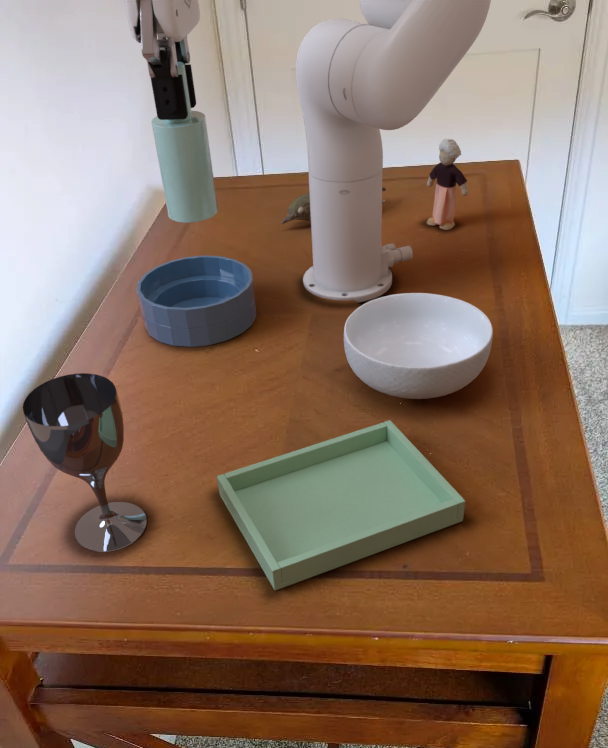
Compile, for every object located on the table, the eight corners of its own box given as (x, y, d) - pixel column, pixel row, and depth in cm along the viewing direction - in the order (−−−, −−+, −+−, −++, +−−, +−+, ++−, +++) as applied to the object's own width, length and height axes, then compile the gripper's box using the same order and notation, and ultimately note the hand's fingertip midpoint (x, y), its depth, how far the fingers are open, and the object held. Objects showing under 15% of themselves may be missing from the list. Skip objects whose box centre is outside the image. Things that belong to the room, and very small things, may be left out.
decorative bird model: (275, 226, 125) (273, 195, 122) (381, 198, 131) (381, 167, 128) (289, 237, 122) (287, 205, 118) (397, 208, 128) (398, 176, 124)
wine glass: (75, 503, 79) (31, 377, 68) (153, 496, 79) (120, 369, 68) (65, 559, 73) (14, 431, 62) (148, 550, 73) (112, 421, 63)
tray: (389, 439, 83) (390, 419, 81) (463, 521, 74) (465, 500, 72) (219, 495, 78) (216, 475, 76) (274, 591, 69) (272, 571, 67)
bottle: (209, 199, 92) (188, 54, 82) (224, 216, 88) (205, 66, 78) (162, 209, 91) (135, 63, 80) (176, 226, 87) (149, 76, 76)
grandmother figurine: (416, 225, 122) (420, 139, 114) (427, 216, 125) (432, 131, 116) (460, 234, 119) (467, 147, 110) (471, 225, 121) (479, 139, 112)
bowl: (234, 287, 111) (228, 246, 107) (273, 333, 101) (269, 290, 97) (133, 313, 107) (124, 272, 103) (164, 363, 97) (155, 320, 93)
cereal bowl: (470, 433, 83) (477, 376, 78) (325, 409, 88) (322, 354, 83) (498, 352, 94) (505, 299, 89) (368, 335, 99) (368, 283, 94)
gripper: (159, -104, 63) (194, 138, 76) (202, -123, 74) (227, 89, 87) (72, -99, 64) (121, 139, 77) (128, -118, 75) (163, 91, 88)
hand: (177, 111), depth 82 cm, fingers closed on bottle, 3 cm apart
